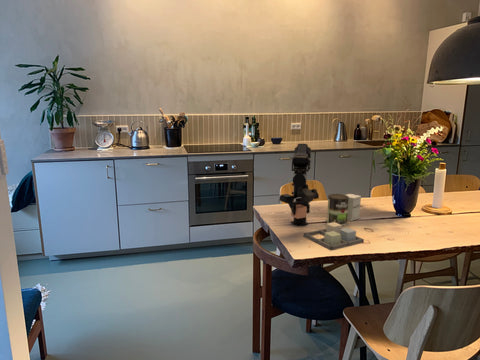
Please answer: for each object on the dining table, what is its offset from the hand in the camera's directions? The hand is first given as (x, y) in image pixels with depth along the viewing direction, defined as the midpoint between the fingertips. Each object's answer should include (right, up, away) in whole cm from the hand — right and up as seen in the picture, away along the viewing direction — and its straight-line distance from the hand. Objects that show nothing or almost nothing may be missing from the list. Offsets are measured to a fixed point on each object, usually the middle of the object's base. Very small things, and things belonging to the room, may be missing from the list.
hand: (298, 214), depth 181 cm
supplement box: (+31, -5, +26) cm, 41 cm away
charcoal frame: (+15, -11, -4) cm, 19 cm away
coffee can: (+23, -6, +19) cm, 30 cm away
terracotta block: (0, -1, 0) cm, 1 cm away
